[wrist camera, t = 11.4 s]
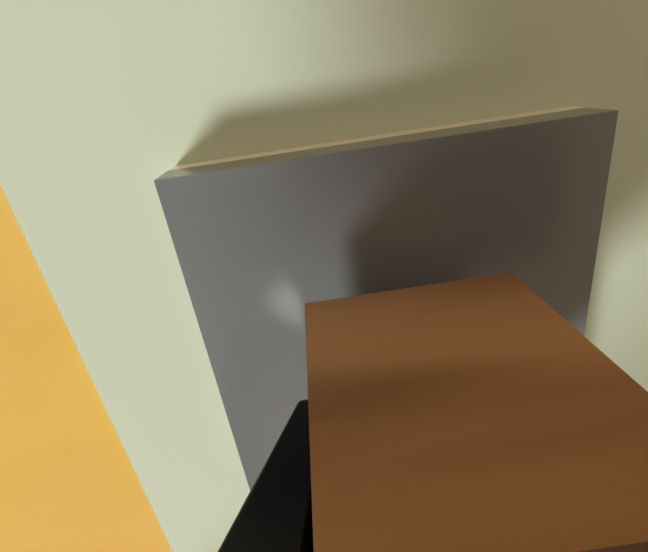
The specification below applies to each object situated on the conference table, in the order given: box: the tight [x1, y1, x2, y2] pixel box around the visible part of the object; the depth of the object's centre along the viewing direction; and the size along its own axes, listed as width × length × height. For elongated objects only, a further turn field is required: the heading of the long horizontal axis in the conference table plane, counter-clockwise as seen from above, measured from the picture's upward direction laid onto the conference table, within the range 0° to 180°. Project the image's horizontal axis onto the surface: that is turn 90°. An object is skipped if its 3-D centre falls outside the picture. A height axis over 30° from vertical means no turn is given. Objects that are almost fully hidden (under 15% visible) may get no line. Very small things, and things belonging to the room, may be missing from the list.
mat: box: [0, 0, 648, 552], centre depth 12 cm, size 22×17×1 cm
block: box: [305, 272, 648, 552], centre depth 7 cm, size 4×4×5 cm
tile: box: [154, 106, 619, 491], centre depth 11 cm, size 9×2×9 cm
